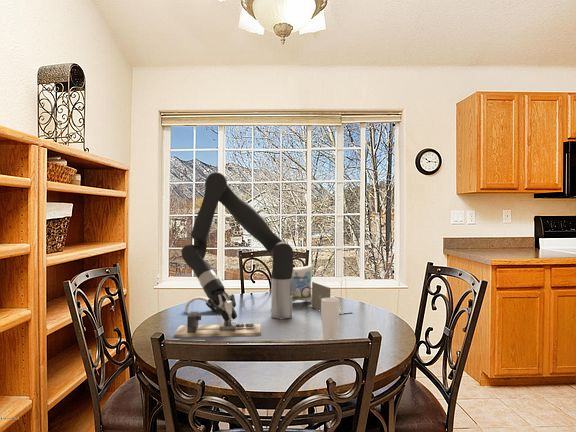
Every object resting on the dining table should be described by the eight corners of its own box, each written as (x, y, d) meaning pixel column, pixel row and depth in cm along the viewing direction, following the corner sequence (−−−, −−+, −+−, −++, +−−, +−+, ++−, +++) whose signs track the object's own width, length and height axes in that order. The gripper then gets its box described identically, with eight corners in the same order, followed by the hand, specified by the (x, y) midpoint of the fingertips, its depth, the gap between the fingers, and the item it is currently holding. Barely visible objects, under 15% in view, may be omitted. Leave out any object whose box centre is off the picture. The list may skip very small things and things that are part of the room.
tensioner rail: (259, 326, 160) (260, 309, 160) (260, 335, 148) (260, 316, 148) (179, 328, 157) (180, 310, 157) (174, 337, 145) (174, 318, 145)
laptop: (353, 314, 183) (353, 286, 183) (329, 316, 178) (329, 288, 178) (333, 305, 199) (333, 280, 199) (311, 308, 194) (311, 281, 194)
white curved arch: (234, 307, 193) (234, 293, 193) (237, 313, 182) (237, 298, 182) (185, 309, 188) (185, 294, 188) (184, 316, 177) (184, 300, 177)
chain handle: (253, 325, 156) (253, 299, 156) (253, 329, 152) (253, 302, 151) (220, 326, 155) (220, 300, 155) (219, 329, 150) (219, 303, 150)
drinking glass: (327, 336, 147) (327, 296, 147) (342, 340, 143) (343, 299, 143) (317, 340, 142) (317, 299, 142) (332, 345, 138) (333, 302, 138)
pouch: (276, 303, 203) (277, 264, 203) (309, 300, 210) (309, 262, 210) (282, 306, 195) (283, 266, 195) (316, 303, 203) (317, 264, 203)
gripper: (201, 280, 152) (222, 317, 145) (228, 276, 163) (249, 310, 156) (192, 292, 155) (213, 328, 148) (219, 287, 166) (240, 321, 159)
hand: (231, 318), depth 152 cm, fingers closed on chain handle, 3 cm apart
